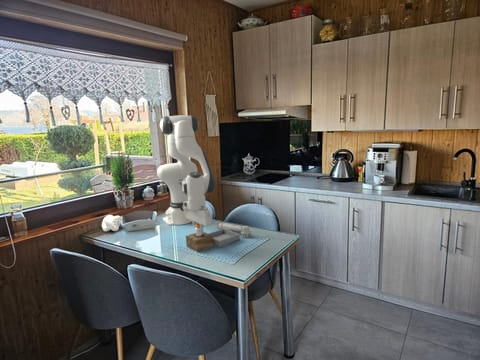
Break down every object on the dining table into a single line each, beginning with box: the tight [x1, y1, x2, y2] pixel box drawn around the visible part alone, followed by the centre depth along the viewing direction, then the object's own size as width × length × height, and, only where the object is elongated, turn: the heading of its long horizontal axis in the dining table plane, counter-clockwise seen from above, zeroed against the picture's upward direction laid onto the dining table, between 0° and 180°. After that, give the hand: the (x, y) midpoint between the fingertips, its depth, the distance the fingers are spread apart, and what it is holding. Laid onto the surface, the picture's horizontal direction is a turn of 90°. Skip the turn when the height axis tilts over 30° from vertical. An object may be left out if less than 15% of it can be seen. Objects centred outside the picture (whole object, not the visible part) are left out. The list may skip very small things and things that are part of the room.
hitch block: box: [185, 230, 214, 253], centre depth 163 cm, size 10×10×6 cm
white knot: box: [101, 214, 123, 232], centre depth 195 cm, size 11×12×9 cm
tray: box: [208, 228, 241, 249], centre depth 170 cm, size 14×14×4 cm
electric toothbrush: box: [217, 222, 252, 239], centre depth 181 cm, size 5×7×25 cm
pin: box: [195, 223, 202, 238], centre depth 163 cm, size 3×3×11 cm
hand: (198, 230), depth 162 cm, fingers closed on pin, 3 cm apart
